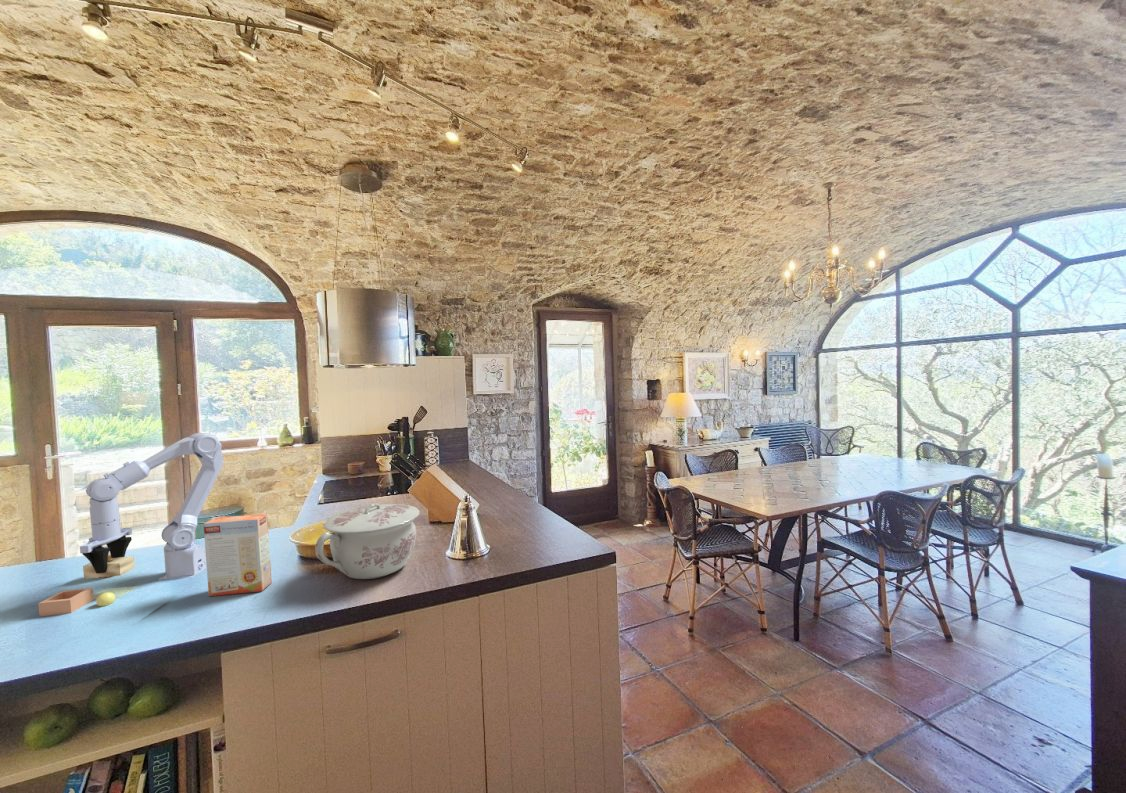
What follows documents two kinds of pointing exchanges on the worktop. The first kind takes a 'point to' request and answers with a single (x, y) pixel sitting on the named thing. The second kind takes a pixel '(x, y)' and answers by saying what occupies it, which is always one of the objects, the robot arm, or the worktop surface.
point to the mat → (115, 591)
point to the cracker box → (237, 554)
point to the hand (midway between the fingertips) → (109, 568)
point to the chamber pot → (370, 540)
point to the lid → (111, 567)
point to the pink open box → (65, 601)
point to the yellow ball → (105, 599)
